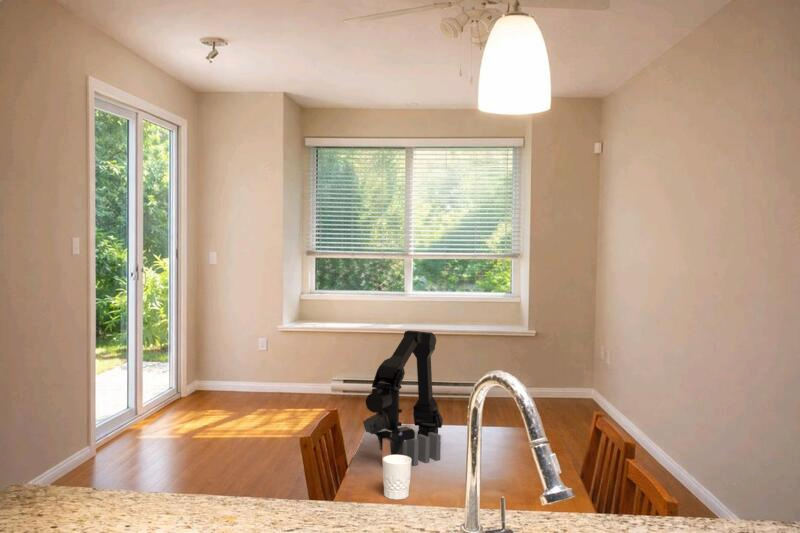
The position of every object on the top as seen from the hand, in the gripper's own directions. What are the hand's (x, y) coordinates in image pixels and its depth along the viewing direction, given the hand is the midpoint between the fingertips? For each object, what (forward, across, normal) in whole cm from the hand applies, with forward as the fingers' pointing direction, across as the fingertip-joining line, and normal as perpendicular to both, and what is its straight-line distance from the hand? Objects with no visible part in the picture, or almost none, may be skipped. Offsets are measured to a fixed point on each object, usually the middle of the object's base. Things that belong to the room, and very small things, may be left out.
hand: (388, 456), depth 207 cm
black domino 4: (+4, 0, +4) cm, 6 cm away
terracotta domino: (+3, 0, 0) cm, 3 cm away
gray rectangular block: (+4, 0, +18) cm, 18 cm away
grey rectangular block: (+4, 0, +9) cm, 10 cm away
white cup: (+4, +19, -11) cm, 22 cm away
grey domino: (+4, 0, +14) cm, 14 cm away
